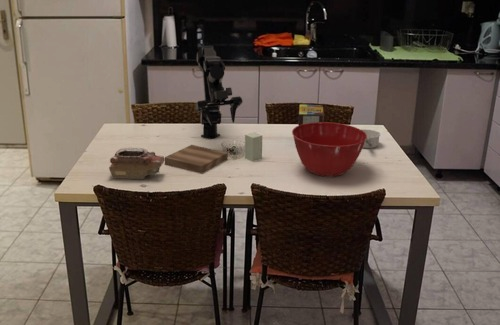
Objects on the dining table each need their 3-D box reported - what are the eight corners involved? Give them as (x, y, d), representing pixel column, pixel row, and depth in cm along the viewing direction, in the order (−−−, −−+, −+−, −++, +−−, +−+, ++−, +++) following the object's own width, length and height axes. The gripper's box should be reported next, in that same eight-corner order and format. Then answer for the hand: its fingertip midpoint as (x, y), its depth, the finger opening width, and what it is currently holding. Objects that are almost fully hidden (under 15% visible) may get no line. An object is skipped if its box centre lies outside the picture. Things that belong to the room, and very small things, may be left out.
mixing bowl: (374, 166, 233) (377, 129, 227) (347, 190, 210) (350, 150, 204) (309, 153, 246) (311, 117, 241) (277, 174, 223) (278, 136, 218)
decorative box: (120, 167, 229) (118, 143, 225) (169, 170, 226) (168, 147, 222) (107, 180, 217) (105, 155, 213) (159, 183, 214) (158, 158, 210)
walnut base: (191, 151, 246) (191, 144, 245) (227, 159, 238) (227, 152, 237) (164, 164, 232) (164, 157, 231) (201, 173, 223) (201, 166, 222)
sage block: (244, 157, 240) (245, 134, 236) (254, 155, 243) (254, 132, 239) (252, 161, 236) (252, 137, 233) (261, 158, 239) (262, 135, 236)
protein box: (321, 138, 265) (323, 104, 260) (321, 149, 251) (323, 114, 245) (297, 137, 266) (299, 104, 260) (297, 148, 252) (298, 113, 246)
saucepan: (355, 156, 244) (356, 143, 242) (351, 140, 262) (352, 128, 260) (383, 157, 243) (384, 144, 241) (377, 141, 261) (378, 129, 259)
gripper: (197, 83, 229) (204, 121, 227) (242, 78, 235) (249, 115, 232) (192, 92, 240) (199, 128, 237) (235, 87, 245) (242, 123, 243)
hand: (222, 123), depth 237 cm, fingers open, 9 cm apart
